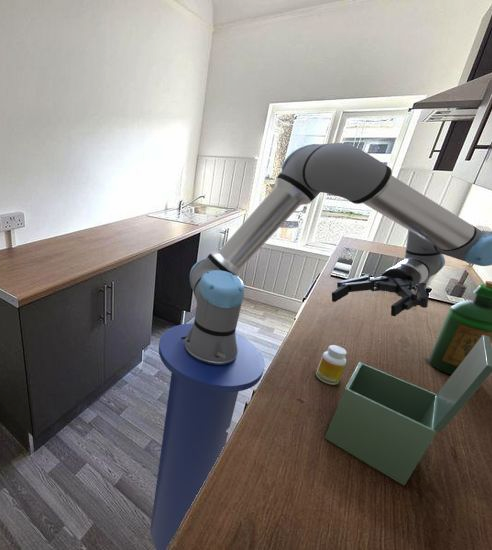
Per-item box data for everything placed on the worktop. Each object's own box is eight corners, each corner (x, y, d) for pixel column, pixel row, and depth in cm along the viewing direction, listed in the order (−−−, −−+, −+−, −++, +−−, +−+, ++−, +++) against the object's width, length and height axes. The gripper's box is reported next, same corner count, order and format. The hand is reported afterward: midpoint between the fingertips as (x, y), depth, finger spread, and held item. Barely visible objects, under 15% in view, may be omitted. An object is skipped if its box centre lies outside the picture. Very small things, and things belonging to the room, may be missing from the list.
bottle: (456, 382, 83) (509, 292, 73) (414, 359, 93) (455, 276, 82) (482, 378, 85) (537, 290, 75) (438, 355, 95) (482, 275, 85)
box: (324, 438, 64) (344, 388, 59) (340, 407, 72) (359, 361, 67) (404, 486, 55) (436, 432, 50) (411, 444, 63) (440, 395, 58)
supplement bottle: (339, 388, 78) (351, 358, 75) (315, 380, 81) (326, 350, 77) (337, 376, 83) (348, 347, 79) (315, 369, 85) (325, 341, 82)
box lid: (487, 364, 44) (495, 368, 43) (482, 334, 52) (489, 336, 52) (434, 428, 50) (441, 432, 49) (438, 392, 58) (444, 394, 58)
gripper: (465, 299, 75) (423, 332, 67) (354, 280, 97) (313, 304, 89) (468, 271, 73) (425, 302, 65) (354, 259, 95) (312, 281, 87)
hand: (360, 303), depth 77 cm, fingers open, 13 cm apart
